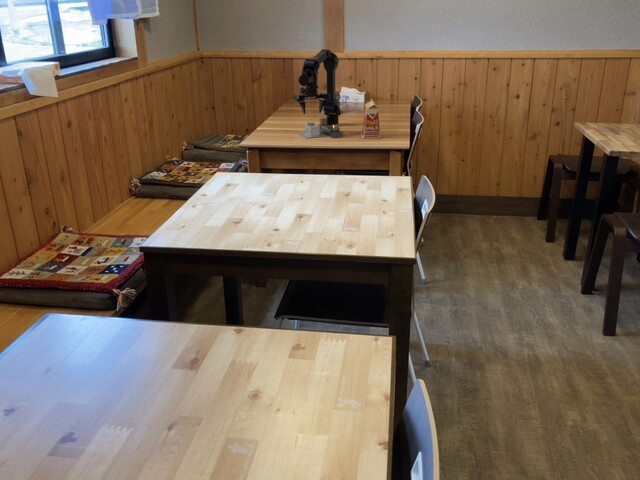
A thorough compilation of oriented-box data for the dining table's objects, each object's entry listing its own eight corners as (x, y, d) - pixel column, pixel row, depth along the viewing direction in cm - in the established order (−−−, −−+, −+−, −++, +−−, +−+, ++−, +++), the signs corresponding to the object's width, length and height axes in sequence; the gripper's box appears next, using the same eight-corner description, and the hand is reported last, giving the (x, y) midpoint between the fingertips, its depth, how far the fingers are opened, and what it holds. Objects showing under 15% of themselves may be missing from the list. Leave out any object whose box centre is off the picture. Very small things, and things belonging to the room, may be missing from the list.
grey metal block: (305, 133, 317) (305, 122, 315) (313, 132, 319) (313, 122, 317) (311, 136, 311) (311, 125, 308) (319, 135, 312) (319, 124, 310)
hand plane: (316, 130, 327) (316, 117, 324) (325, 129, 329) (325, 117, 326) (332, 138, 308) (332, 125, 306) (342, 137, 311) (342, 124, 308)
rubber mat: (318, 132, 322) (318, 131, 322) (326, 136, 312) (326, 135, 312) (298, 134, 318) (298, 133, 318) (306, 138, 308) (306, 137, 308)
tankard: (341, 114, 370) (341, 90, 364) (321, 114, 370) (321, 90, 364) (340, 109, 388) (341, 86, 383) (322, 109, 389) (322, 86, 383)
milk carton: (361, 135, 315) (361, 98, 307) (377, 135, 315) (379, 97, 308) (363, 139, 306) (364, 100, 298) (380, 138, 307) (382, 100, 299)
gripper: (321, 80, 315) (321, 109, 321) (289, 82, 308) (290, 112, 314) (330, 83, 305) (330, 113, 311) (297, 85, 298) (298, 115, 304)
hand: (312, 113), depth 311 cm, fingers open, 9 cm apart
